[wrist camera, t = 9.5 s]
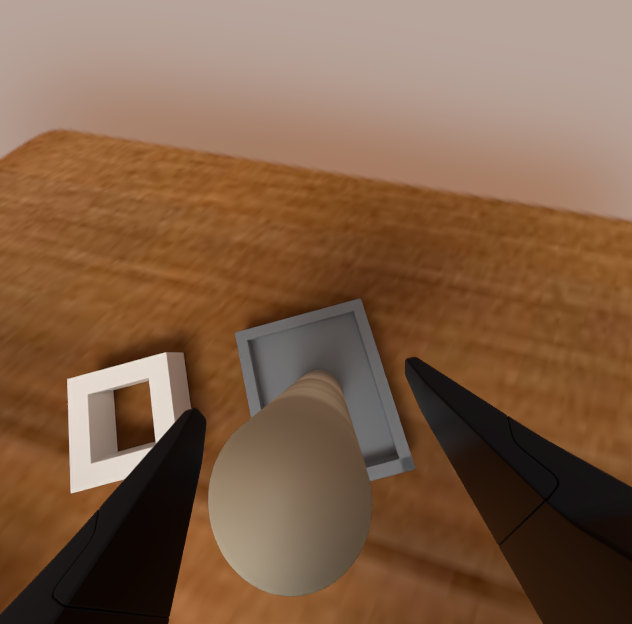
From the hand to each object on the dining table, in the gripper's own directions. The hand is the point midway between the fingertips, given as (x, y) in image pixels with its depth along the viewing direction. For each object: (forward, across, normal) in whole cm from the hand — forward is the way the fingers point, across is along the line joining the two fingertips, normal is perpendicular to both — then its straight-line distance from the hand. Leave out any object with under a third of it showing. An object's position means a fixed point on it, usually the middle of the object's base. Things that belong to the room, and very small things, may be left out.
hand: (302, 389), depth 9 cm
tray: (+5, 0, +7) cm, 8 cm away
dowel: (+4, 0, +6) cm, 8 cm away
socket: (+6, +14, +6) cm, 16 cm away
